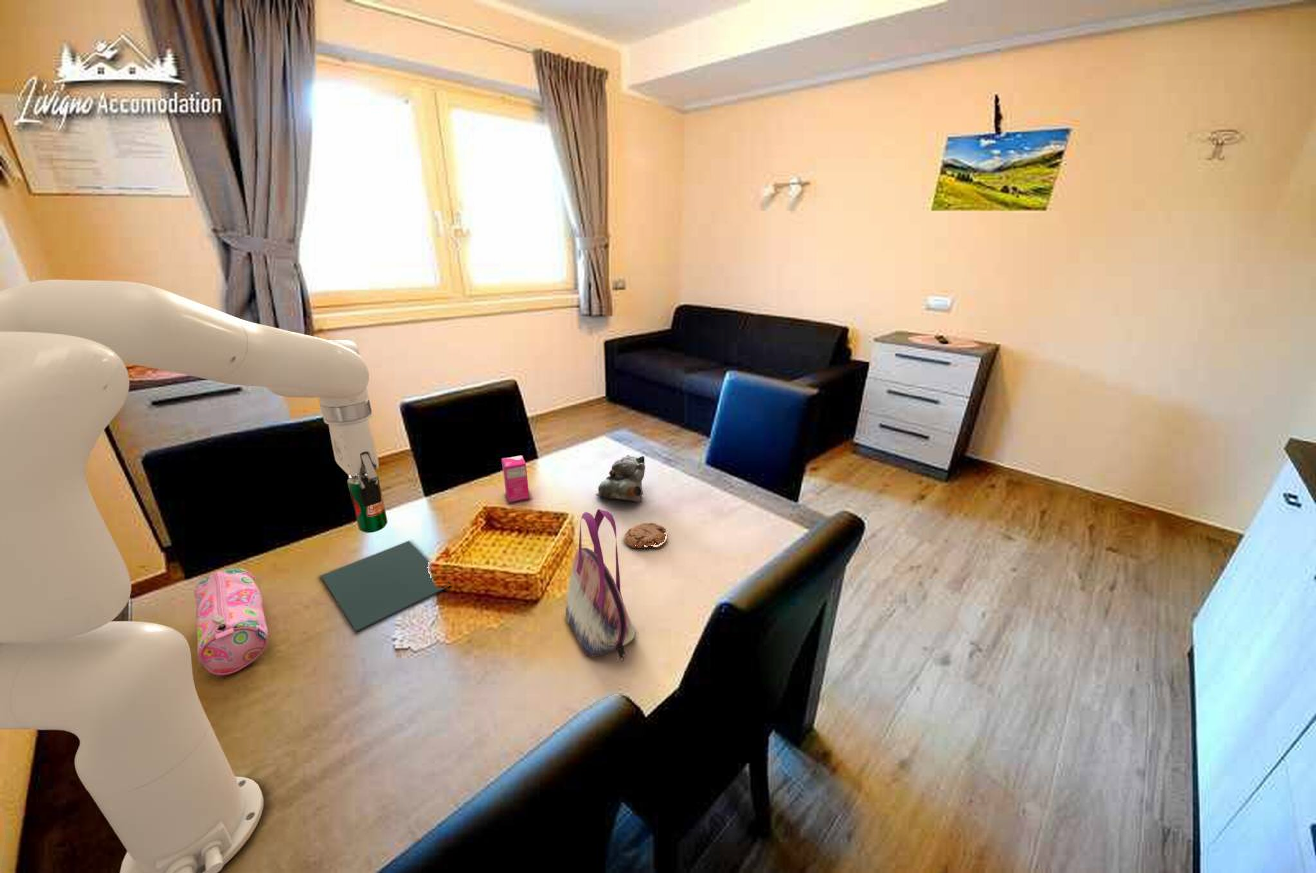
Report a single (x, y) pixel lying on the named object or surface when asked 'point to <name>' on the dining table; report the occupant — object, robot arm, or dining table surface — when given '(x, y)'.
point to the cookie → (645, 535)
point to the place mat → (381, 585)
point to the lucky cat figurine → (624, 480)
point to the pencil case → (229, 621)
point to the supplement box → (515, 479)
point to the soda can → (366, 508)
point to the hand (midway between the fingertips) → (366, 497)
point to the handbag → (597, 597)
